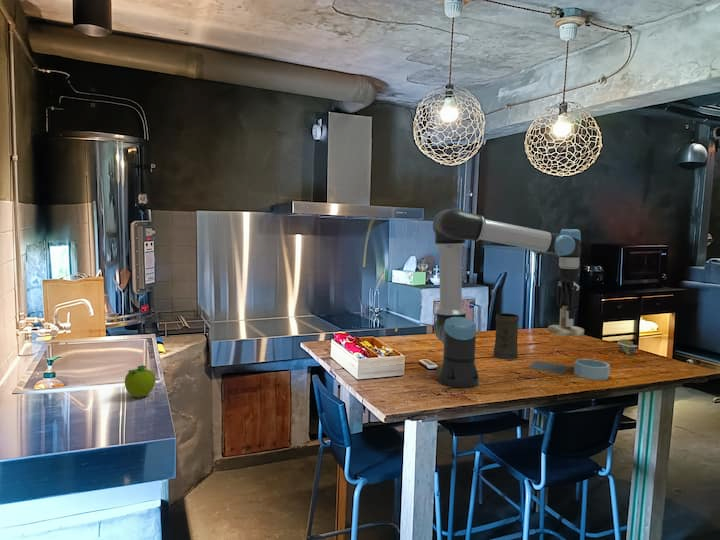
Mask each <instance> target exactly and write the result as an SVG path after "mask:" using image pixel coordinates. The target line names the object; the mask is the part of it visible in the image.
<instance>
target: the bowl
mask: <svg viewBox="0 0 720 540" xmlns="http://www.w3.org/2000/svg"><path fill="white" fill-rule="evenodd" d="M573 365H574V366H573V375H576V376H577V377H579V378H582V379H587V380H593V381H602V380H605V381H606V380H607V381H608V379H609V378H610V371H611V365H610V364H609V363H607V362H605V361H602V360H597V359H592V358H591V359H590V358H578V359H576V360H574V362H573Z"/></svg>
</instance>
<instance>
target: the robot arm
mask: <svg viewBox="0 0 720 540" xmlns="http://www.w3.org/2000/svg"><path fill="white" fill-rule="evenodd" d="M432 230H433V232H434V234H435V235H434V237H435V238H434V243H435V245H436V246H437V248H438V253H439V266H438V267H439V308H438V309H437V311H436V313H435V317H436V320H435V322H434V325H433V327H434V329H433V330H434V333H435V336H436V338H437V339H438V340H439V341H440V342H441V344H443V352H442V353H443V356H442V357H443V358H442V362H441V365H440V368H439V371H438V373H437V381H438V382H439V383H440V384H441V385H444V386H448V387H451V388H452V387H453V388H473V387H476V386H478V385H479V383H480V381H479V380H480V376H479V373H478V370H477V365H476V362H475V361H476V345H477V343H476V342H477V341H476V340H477V332H478V331H477V325H476V323H475V321H474V320H472V319H470V318H467V313H466V312H467V311H465V310H464V309H463V301H462V300H463V299H462V297H463V296H462V295H463V294H462V293H463V292H462V291H463V288H462V247H464V245H465V244H466V241H473V242H478V241H479V240H482V241H487V242H492V243H498V244H503V245H508V246H513V247H517V248H523V249H527V250H530V251H531V253H533V254H534V253H535V254H551V255H558V256H559V257H558V267H559V268H558V277H559V278H560V280H559V281H556V282H555V285H556V306H557V307H558V308H559V325H561V321H562V306H568V309H566V327H573V326H574V319H575V311H577V310H579V305H580V303H579V302H580V291H581V289H582V286H581V285H578V284H577V279H578V278H579V276H580V269H579V267H580V257H581V256H580V254H581V242H582V239H581V238H582V236H581V235H582V233H581V231H580V230H579V229H577V228H575V229H574V228H572V229H571V228H568V229H567V228H562V229H561V230H560V232H559V233H554V232H549V231H545V230H541V229H534V228H530V227H526V226H520V225H516V224H510V223H506V222H501V221H495V220H490V219H486V218H485V217H484V216H483V215H481V214H476V213H472V212H469V211H465V210H463V209H460V208H447V209H443V210H440V212H438V213H437V214H436V215H435V217H434V218H433V222H432Z"/></svg>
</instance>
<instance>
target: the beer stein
mask: <svg viewBox="0 0 720 540" xmlns="http://www.w3.org/2000/svg"><path fill="white" fill-rule="evenodd" d="M519 321H520V316H519V315H518V314H515V313H504V312H503V313H501V312H500V313H496V314H495V325H496V327H495V341H494V348H493V355H492V356H493V358H496V359H500V360H501V359H502V360H509V361H510V360H517V359H518V358H519V355H518V353H519V351H518V331H519V330H518V329H519V328H518V327H519Z"/></svg>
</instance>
